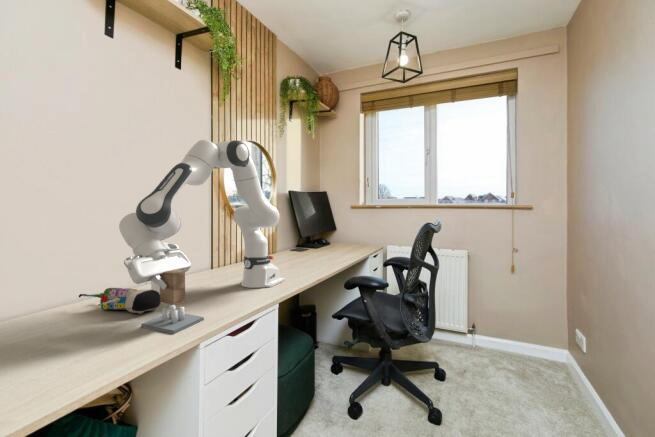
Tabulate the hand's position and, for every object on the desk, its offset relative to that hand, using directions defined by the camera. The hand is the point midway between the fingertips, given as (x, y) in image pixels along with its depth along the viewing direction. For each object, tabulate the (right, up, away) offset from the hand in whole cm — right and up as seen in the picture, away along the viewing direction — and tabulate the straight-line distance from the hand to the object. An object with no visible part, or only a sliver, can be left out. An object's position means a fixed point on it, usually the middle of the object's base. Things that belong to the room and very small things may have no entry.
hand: (174, 285), depth 98 cm
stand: (-1, -13, +1) cm, 13 cm away
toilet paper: (-24, -11, +39) cm, 47 cm away
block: (-1, -5, 0) cm, 5 cm away
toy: (-26, -12, +15) cm, 32 cm away
